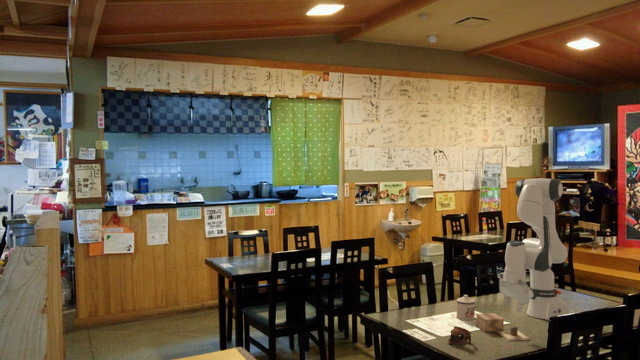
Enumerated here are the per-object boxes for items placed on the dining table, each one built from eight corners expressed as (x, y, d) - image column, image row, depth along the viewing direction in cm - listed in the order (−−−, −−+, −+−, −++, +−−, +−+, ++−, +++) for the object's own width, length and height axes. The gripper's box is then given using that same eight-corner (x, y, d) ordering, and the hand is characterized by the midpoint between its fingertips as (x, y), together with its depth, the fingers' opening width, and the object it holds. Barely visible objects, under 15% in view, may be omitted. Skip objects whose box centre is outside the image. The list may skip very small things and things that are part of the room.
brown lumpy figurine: (442, 342, 218) (448, 324, 220) (461, 351, 219) (467, 333, 221) (455, 344, 206) (462, 325, 209) (475, 354, 207) (481, 334, 210)
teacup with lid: (467, 322, 245) (467, 298, 244) (452, 317, 252) (452, 294, 252) (482, 318, 252) (482, 295, 251) (467, 313, 259) (467, 291, 259)
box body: (494, 325, 240) (494, 313, 239) (503, 332, 230) (504, 319, 230) (475, 326, 238) (476, 313, 238) (484, 332, 229) (485, 319, 229)
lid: (518, 333, 230) (518, 323, 230) (529, 341, 220) (529, 330, 220) (498, 334, 228) (498, 324, 228) (509, 341, 219) (509, 331, 219)
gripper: (534, 282, 213) (533, 315, 214) (510, 273, 234) (509, 302, 234) (520, 282, 213) (519, 315, 213) (497, 273, 233) (496, 302, 233)
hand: (513, 308), depth 224 cm, fingers open, 8 cm apart
